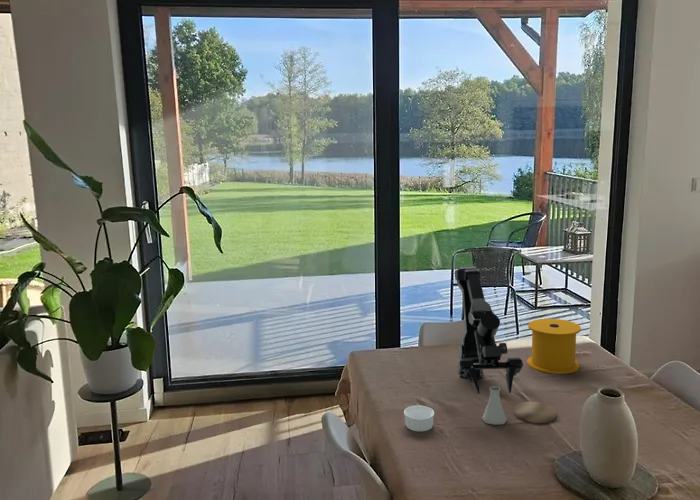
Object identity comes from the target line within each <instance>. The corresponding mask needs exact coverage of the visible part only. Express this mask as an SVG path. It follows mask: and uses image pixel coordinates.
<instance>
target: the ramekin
mask: <svg viewBox="0 0 700 500" xmlns="http://www.w3.org/2000/svg"><path fill="white" fill-rule="evenodd" d="M403 415H404V423H405V426H406V428H407V429H409V430H410V431H413V432H422V433H423V432H428V431H430V430H431V429H432V428H433V425H434V416H435V411H434V410H433V408H431V407H429V406H425V405H410V406H408V407H406V408H405V409H404V410H403Z"/></svg>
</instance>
